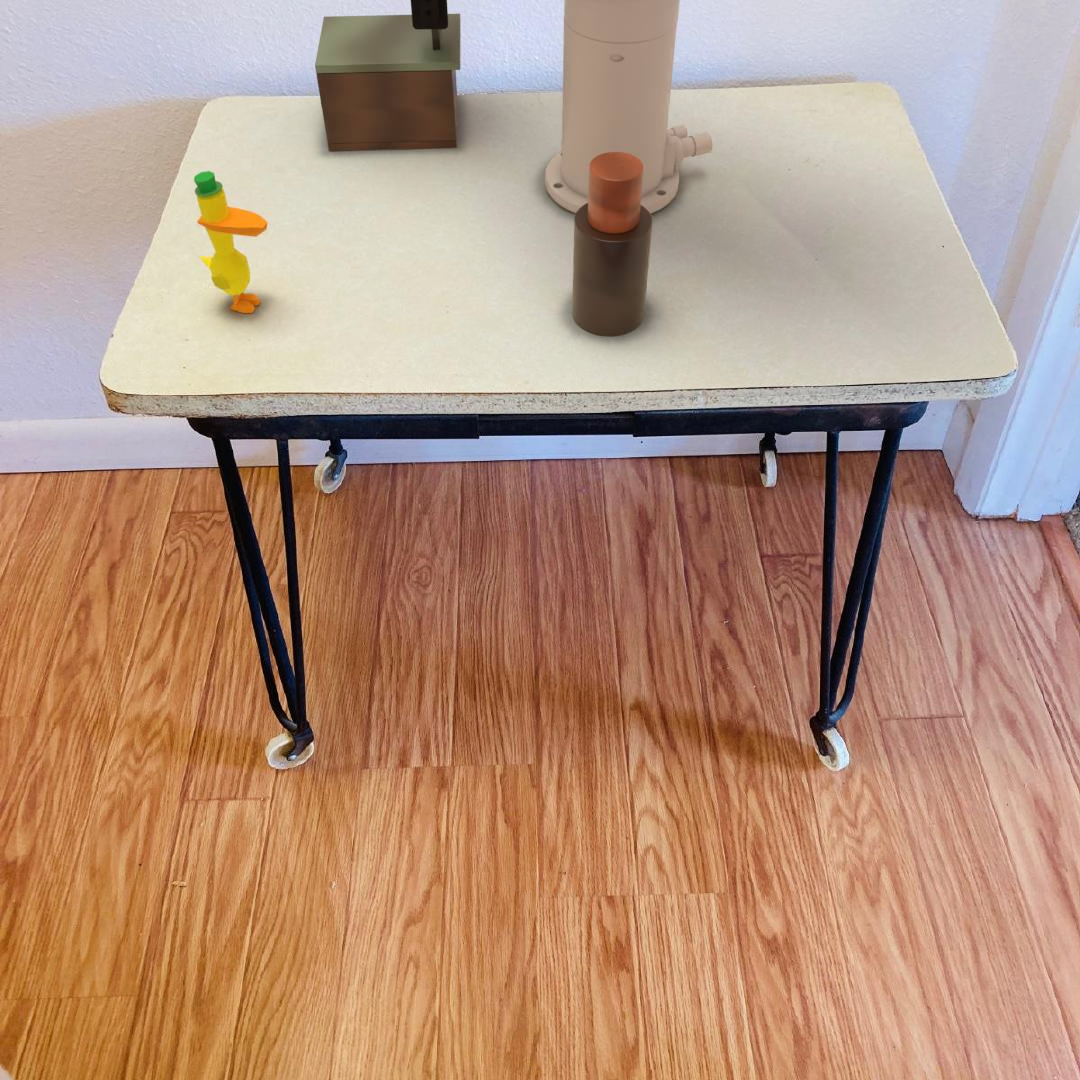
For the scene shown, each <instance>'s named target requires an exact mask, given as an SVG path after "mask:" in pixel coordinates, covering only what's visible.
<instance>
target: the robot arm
mask: <svg viewBox="0 0 1080 1080" xmlns="http://www.w3.org/2000/svg"><path fill="white" fill-rule="evenodd" d="M680 1H681V0H564V1H563V3H564V4H563V9H564V10H563V43H562V44H563V45H562V47H563V50H562V52H563V53H562V110H561V111H562V113H561V114H562V119H561V120H562V121H561V122H562V123H561V124H562V125H561V131H562V132H561V150H560V151H559V152H557V153H555V155H554V156H553V157H552V158H551V159H550V160H549V162H548V163H547V165H546V168H545V172H544V184H545V188H546V192H547V193H548V194H549V196H550V198H551V199H552V200H553V201H554V202H555V203H557V205H559V206H561V207H562V208H564V209H566V210H567V211H569V212H572V213H574V214H576V212H577V211H578V210H579V208H580V207H582V206H583V205H584V204H586V203H588V190H589V165H590V162H591V161H592V159H593V158H595V157H596V156H598V155H600V154H603V153H608V152H623V153H628V154H631V155H633V156H635V157H637V158H638V159H640V160H641V162H642V164H643V181H642V194H641V205H642V206H643V207H645V208H646V209H647V210H648V211H649V213H650V214H653V213H655V212H658V211H660V210H661V209H663V208H664V207H666V206H667V205H668V204H670V203H671V202H672V201H673V199H675V197H676V195H677V193H678V191H679V183H680V172H679V170H678V167H677V165H678V164H681V163H682V162H683V160H684V159H686V158H690V157H691V158H692V157H697V156H702V155H706V154H710V153H712V151H713V139H712V137H711V134H710V133H709V132H707V131H705V132H704V131H703V132H699V133H696V134H690V135H688V130H687V127H686V126H685V125H684V124H681V125H677V126H672V127H670V128H668V124H669V123H668V122H669V111H670V101H671V92H672V91H671V90H672V81H673V80H672V79H673V70H674V60H675V59H674V57H675V49H676V37H677V27H678V22H679V21H678V20H679V11H680ZM410 10H411V15H412V24H413V28H414V29H417V30H421V29H446V28H447V27H448V14H449V13H448V12H449V11H448V0H410Z"/></svg>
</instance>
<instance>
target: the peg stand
mask: <svg viewBox="0 0 1080 1080" xmlns="http://www.w3.org/2000/svg"><path fill="white" fill-rule="evenodd" d="M587 217H588V203H586V204H584V205H583V206H582V207H580V208H579V210H578V211H577V212H576V213H574V220H573V221H574V222H573V225H574V226H573V228H574V229H573V257H572V258H573V260H572V263H573V264H572V266H573V267H572V296H571V297H572V299H571V316H572V318H573V319H574V322H575V323H576V325H578V327H579V328H581V329H583V330H584V331H586V332H588V333H591V334H593V335H598V336H605V337H616V336H622V335H625V334H628V333H630V332H632V331H634V330H636V329H637V328H639V326H640V325H641V324H642V322H643V320H644V318H645V310H646V299H647V287H648V275H649V265H650V254H651V244H652V243H651V241H652V231H653V217H652V215H651V214H650V213H649V211H648V210H647V209H646V208H645V207H643V206H642V205H641V207H640V220H639V223H638V225H637V226H636V227H635V228H634V229H632V230H630V231H628V232H624V233H617V234H611V233H605V232H601V231H598V230H596V229H595V228H593V227H592V226H591V225H590V224H589V222H588V218H587Z"/></svg>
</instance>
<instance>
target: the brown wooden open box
mask: <svg viewBox="0 0 1080 1080" xmlns="http://www.w3.org/2000/svg"><path fill="white" fill-rule="evenodd" d="M316 81H317V86H318V93H319V98H320V105H321V111H322V112H321V113H322V117H323V118H322V119H323V123H324V128H325V129H324V130H325V136H326V141H327V147H328V151H329V152H342V151H343V152H344V151H345V152H346V151H349V152H350V151H381V150H384V151H385V150H387V151H388V150H420V149H421V150H422V149H425V150H426V149H456V148H458V91H457V90H458V89H457V88H458V87H457V70H435V71H393V72H352V73H316Z"/></svg>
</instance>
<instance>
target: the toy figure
mask: <svg viewBox="0 0 1080 1080" xmlns="http://www.w3.org/2000/svg"><path fill="white" fill-rule="evenodd" d="M193 182H194V184H195V185H196V188H195V189H194V194H195V196H196V200H197V203H198V207H199V211H200V214H201V216H200V217H199V218H198V219H197V221H196V223H197V224H198V225H200V226H202V227H204V228H205V230H206V233H207V235H208V237H209V240H210V242H211V244H212V246H213V249H214V253H213V256H199V259H200V260H201V261H202V262H203V263H204V264H205V266H206V267H207V268H208V269H209V270H210V272H211V276H210V279H211V280H212V283H213V285H214V287H216V288H218V289H220V290H222V291H223V292H224V293H225V294H228V295H229V296H232V300H233V303H232V304H231V306H230V310H232V311H235V312H239V313H241V314H253V313H254V312H255V310H256V307H257V306H259V305H260V303H261V299H260V298H259V297H258V296H257V295H256V294H254V293H251V292H250V293H244V292H245V291H246V290H247V288H248V286H249V284H250V281H251V269H250V266H249V261H248V258H247V256H246V255H244V254H243V253H242V252H240V251H239V250H238V249H236V248H235V242H234V235H236V236H242V237H243V236H244V237H255V238H256V237H258V236H260V235H261V234H263V233H264V232H265V231H267V229H268V221H267V220H266V219H265V218H263V217H262V216H261V214H258V213H255V212H253V211H250V210H246V209H242V208H238V207H233V206H229V205H228V201H227V199H226V193H225V190H224V187H223V184H222V182H220V181H217V180H216V176H215V172H212V171H210V170H207V171H201V172H199V173H197V174H196V175H194V178H193Z"/></svg>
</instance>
